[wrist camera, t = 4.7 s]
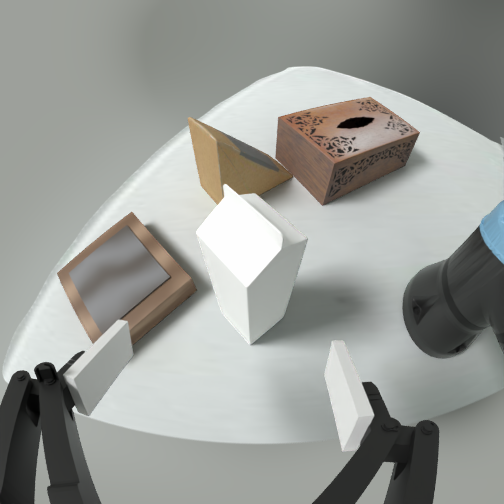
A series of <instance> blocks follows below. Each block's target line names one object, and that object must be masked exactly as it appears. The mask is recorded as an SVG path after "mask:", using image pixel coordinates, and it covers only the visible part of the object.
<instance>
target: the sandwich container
mask: <svg viewBox="0 0 504 504" xmlns="http://www.w3.org/2000/svg"><path fill="white" fill-rule="evenodd" d="M188 122H189V128H190V133H191V138H192V144H193V149H194V154H195V159H196V164H197V169H198V174H199V178H200V183H201V186H202V188H203V189H204V190H205V191H206V192H207V193H208V194H209V196H210V197H211V198H212V199H213V200H214V201H215V203H216V204H217V205H218V204H219V203H220V202H221V201H222V199H223V198H224V190H223V185H224V184H227V185H228V186H229V187H230V188H231V189H232V190H234V191H235V192H236V193H237V194H238V195H243V194H252V193H255V194H257V195H258V196H259V195H261V194H263V193H264V192H266V191H268V190H270V189H272V188H274V187H275V186H277V185H279V184H281V183H283V182H285V181H286V180H288V179H290V178H292V177H293V175H292V174H291V173H290V172H289V171H287V170H286V169H285V168H284V167H283V166H282V165H281V164H279V163H278V162H277V161H276V160H274V159H273V158H272V157H270V156H269V155H268V154H266V153H264V152H262V151H260V150H258V149H256V148H254V147H252V146H250V145H248V144H246V143H244V142H241V141H239V140H237V139H235V138H233V137H231V136H229V135H227V134H225V133H223V132H221V131H219V130H217V129H215V128H213V127H210V126H208V125H206V124H204V123H202V122H200V121H198V120H195V119H193V118H191V117H189V118H188Z"/></svg>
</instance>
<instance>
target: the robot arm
mask: <svg viewBox="0 0 504 504" xmlns="http://www.w3.org/2000/svg"><path fill="white" fill-rule="evenodd" d="M403 316H404V321H405V325H406V328H407V330H408V332H409V334H410V336H411V338H412V340H413V341H414V342H415V344H416V345H417V346H418V347H419V348H420V349H421V350H422V351H423V352H425V353H426V354H428V355H430V356H432V357H436V358H448V357H451V356H454V355H456V354H459V353H461V352H462V351H464V350H465V349H466V348H468V347H469V345H470V344H471V343H472V342H473V341H474V340H475V339H476V338H477V336H478V335H479V334H480V333H481V332H482V331H483V329H485V328H487V327H489V326H491V327H492V329H493V331H494V333H495V335H496V337H497V339H498V342H499V344H500V346H501V348H502V351H503V353H504V200H503V201H501V202H500V203H499V204H498V205H497V206H496V207H495V208H494V209H493V210H492V211H491V213H490V214H488V215H486V216H485V217H484V218H483V219H482V220H481V223H480V225H479V226H478V228H477V229H476V230H475V231H474V232H473V233H472V234H471V235H470V237H469V238H468V239H467V240H466V241H465V242H464V243H463V244H462V245H461V246H460V247H459V248H458V249H457V250H456V251H455V252H454V253H453V254H452V255H451V256H450V257H449V258H448V259H446V260H443V261H440V262H438V263H435V264H432V265H429V266H427V267H425V268H423V269H422V270H420V271H419V272H418V273H417V274H416V275H415V276H414V277H413V278H412V279H411V281H410V282H409V283H408V285H407V287H406V290H405V293H404V297H403ZM132 356H133V349H132V344H131V338H130V332H129V325H128V321H124V320H119V319H118V320H117V321H116V322H115V323H114V324H113V325H112V326H111V327H110V328H109V329H108V330H107V331H106V332H105V333H104V334H103V335H102V336H101V337H100V338H99V339H98V340H97V341H96V342H95V343H94V344H93V345H92V346H91V347H90V348H89V349H88V350H87V351H86V352H85V351H81V352H79V353H77V354H75V355H74V356H73V357H72V358H71V360H69V361H68V362H67V363H66V364H65V365H64V366H63V367H62V368H61V369H60V370H59V371H58V372H56V369H55V367H54V365H53V364H52V363H49V362H44V363H40V364H38V365H37V366H36V367H35V369H34V372H35V374H36V377H37V379H31V377H30V375H29V373H28V372H27V371H24V370H22V371H17V372H16V373H14V374H13V376H12V377H11V380H10V382H9V385H8V387H7V390H6V392H5V395H4V397H3V400H2V403H1V405H0V504H34V494H35V476H36V465H37V456H38V449H39V442H40V435H41V430H42V438H43V445H44V452H45V459H46V464H47V469H48V474H49V479H50V484H51V485H50V486H48V487H47V490H48V496H49V499H50V503H51V504H101V502H100V499H99V497H98V494H97V492H96V489H95V487H94V484H93V481H92V479H91V476H90V472H89V469H88V466H87V463H86V460H85V457H84V453H83V450H82V446H81V442H80V438H79V434H78V430H77V426H76V422H75V417H74V412H73V410H72V408H73V407H74V405H75V406H76V408H77V410H78V412H79V413H82V414H84V415H87V416H89V415H90V414H91V413H92V411H93V410H94V408H95V407H96V406H97V404H98V403H99V401H100V400H101V399H102V397H103V396H104V394H105V393H106V392H107V390H108V389H109V388H110V386H111V385H112V383H113V382H114V381H115V379H116V378H117V377H118V375H119V374H120V373H121V371H122V370H123V369H124V367H125V366H126V364H127V363H128V362H129V360H130V359H131V358H132ZM324 376H325V380H326V384H327V388H328V392H329V396H330V401H331V405H332V409H333V413H334V417H335V422H336V426H337V430H338V435H339V439H340V444H341V448H342V451H343V452H344V451H354V450H357V449H358V447H359V445H361V446H360V447H359V449H358V450H357V451H356V453H355V454H354V455H353V457H352V458H351V459H350V461H349V462H348V463H347V464H346V466H345V467H344V468H343V469H342V471H341V472H340V473H339V474H338V475H337V477H336V478H335V479H334V480H333V481H332V483H331V484H330V485H329V486H328V487H327V488H326V489H325V490H324V491H323V493H322V494H321V495H320V496H319V497H318V498H317V499H316V500H315V501H314V502H313V503H312V504H355V503H356V502H357V500H358V499H359V497H360V496H361V495H362V493H363V492H364V490H365V489H366V488H367V486H368V485H369V483H370V482H371V480H372V479H373V477H374V476H375V474H376V473H377V471H378V470H379V468H380V466H381V465H382V463H383V462H395V464H394V468H393V472H392V476H391V480H390V484H389V487H388V491H387V495H386V498H385V501H384V504H432V503H433V498H434V491H435V483H436V475H437V464H438V463H437V462H438V447H439V428H438V426H437V425H436V424H435V423H434V422H432V421H429V420H423V421H420V422H419V423H418V424H417V425H416V427H409V426H402V425H401V424H400V423H399V421H398V420H396V419H394V418H391V417H390V415H389V412H388V410H387V408H386V406H385V403H384V401H383V400H382V397H381V395H380V392H379V390H378V388H377V387H376V386H375V385H374V384H373V383H372V382H361V380H360V378H359V375H358V373H357V371H356V368H355V366H354V364H353V361H352V359H351V356H350V354H349V352H348V349H347V347H346V345H345V342H344V341H335V340H332V343H331V347H330V352H329V356H328V361H327V365H326V369H325V373H324Z"/></svg>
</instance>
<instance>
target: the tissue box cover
mask: <svg viewBox="0 0 504 504" xmlns="http://www.w3.org/2000/svg"><path fill="white" fill-rule="evenodd" d="M419 133H420V132H419V131H417V130H416V129H415V128H414V127H412V126H411V125H410V124H408V123H407V122H406V121H404V120H403V119H402V118H400V117H399V116H398V115H396V114H395V113H393V112H392V111H391V110H389V109H388V108H386V107H385V106H383V105H382V104H380V103H379V102H377V101H376V100H374V99H373V98H371V97H368V98H362V99H356V100H351V101H345V102H340V103H335V104H330V105H326V106H321V107H317V108H312V109H308V110H304V111H300V112H296V113H292V114H288V115H285V116H281V117H278V129H277V144H276V159H277V160H278V161H279V162H280V163H281V164H282V165H283V166H284V167H285V168H286V169H287V170H288V171H289V172H290V173H291V174H292V175H293V176H294V177H295V178H296V179H297V180H298V181H299V182H300V183H301V184H302V185H303V186H304V187H305V188H306V189H307V190H308V191H309V192H310V193H311V194H312V195H313V196H314V197H315V198H316V200H317V201H318V202H319V203H320V204H321V205H322V206H323V205H325V204H327V203H329V202H331V201H333V200H335V199H337V198H339V197H341V196H343V195H345V194H347V193H349V192H352V191H354V190H356V189H358V188H360V187H362V186H364V185H366V184H368V183H370V182H372V181H374V180H376V179H378V178H380V177H382V176H384V175H386V174H389V173H391V172H393V171H395V170H397V169H399V168H401V167H403V166H405V164H406V162H407V160H408V158H409V156H410V154H411V151H412V149H413V147H414V145H415V142H416V140H417V138H418V136H419Z"/></svg>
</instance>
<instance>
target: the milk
mask: <svg viewBox="0 0 504 504" xmlns="http://www.w3.org/2000/svg"><path fill="white" fill-rule="evenodd" d="M223 190H224V198H223V199H222V201H221V202H220V203H219V204H218V205H217V207H216V208H215V209H214V210H213V211H212V213H211V214H210V215H209V216H208V218H207V219H206V220H205V221H204V222H203V224H202V225H201V226H200V227H199V229H198V230H197V232H196V234H197V237H198V241H199V244H200V247H201V251H202V254H203V257H204V260H205V264H206V267H207V270H208V273H209V276H210V279H211V282H212V286H213V289H214V292H215V295H216V298H217V301H218V304H219V307H220V310H221V313H222V314H223V315H224V316H225V317H226V319H227V320H228V321H229V322H230V323H231V324H232V326H233V327H234V328H235V329H236V330H237V331H238V332H239V333H240V335H241V336H242V337H243V338H244V339H245V340H246V341H247V342H248V343H249V345H251V344H252V343H254V342H255V341H256V340H257V339H258V338H260V337H261V336H262V335H263V334H264V333H266V332H267V331H268V330H269V329H270V328H271V327H273V326H274V325H275V324H276V323H277V322H278V321H280V320H281V319H282V318H283V317H284V314H285V311H286V308H287V305H288V302H289V299H290V296H291V293H292V290H293V286H294V283H295V280H296V277H297V274H298V270H299V267H300V264H301V261H302V257H303V254H304V250H305V247H306V244H307V240H308V238H307V237H306V236H305V235H304V234H302V233H301V232H300V231H299V230H298V229H297V228H296V227H294V226H293V225H292V224H291V223H290V222H289V221H287V220H286V219H285V218H284V217H283V216H282V215H280V214H279V213H278V212H277V211H276V210H275V209H273V208H272V207H271V206H270V205H269V204H267V203H266V202H265V201H264V200H263V199H261V198H260V197H259V196H258V195H257V194H255V193H252V194H243V195H238V194H237V193H236V192H235V191H234V190H232V189H231V188H230V187H229V186H228V185H227V184H224V185H223Z"/></svg>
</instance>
